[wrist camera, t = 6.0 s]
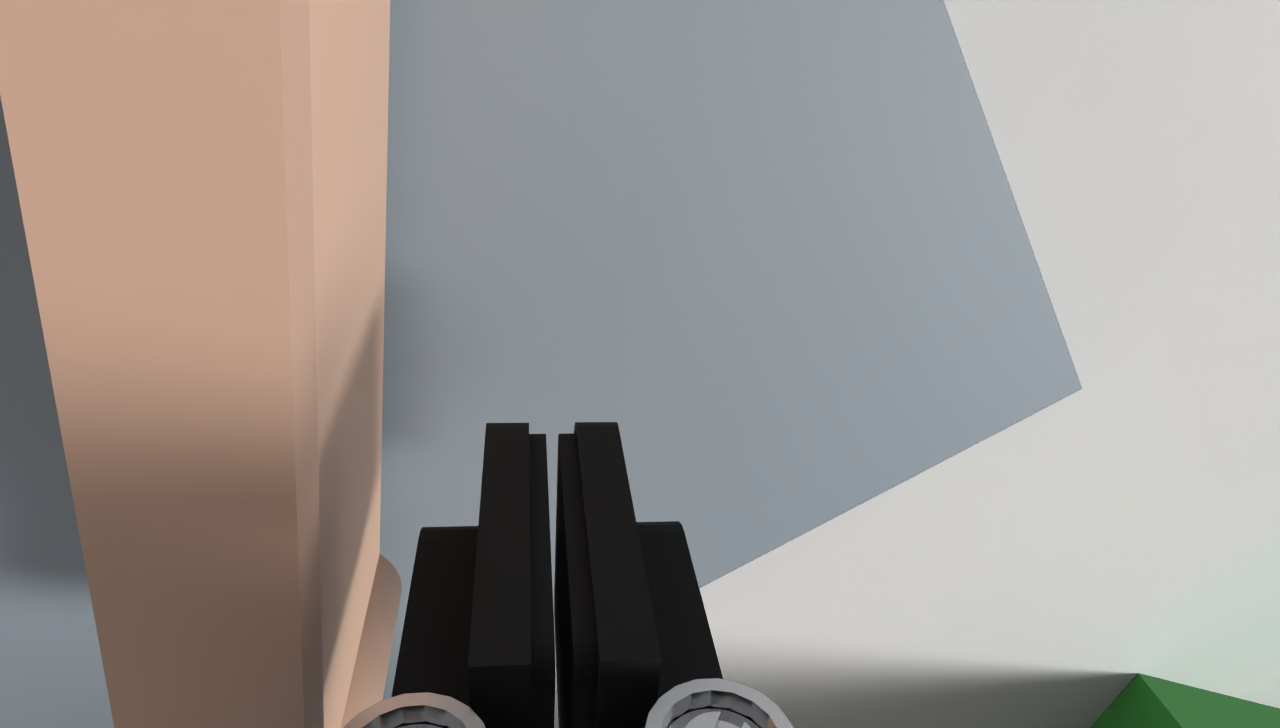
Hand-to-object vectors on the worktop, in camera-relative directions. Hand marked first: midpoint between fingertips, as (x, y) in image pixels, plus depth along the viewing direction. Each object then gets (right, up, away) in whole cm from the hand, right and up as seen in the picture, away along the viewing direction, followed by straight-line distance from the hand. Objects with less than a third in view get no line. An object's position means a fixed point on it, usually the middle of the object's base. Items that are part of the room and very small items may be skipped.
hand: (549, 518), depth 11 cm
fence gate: (-3, +3, +1) cm, 5 cm away
